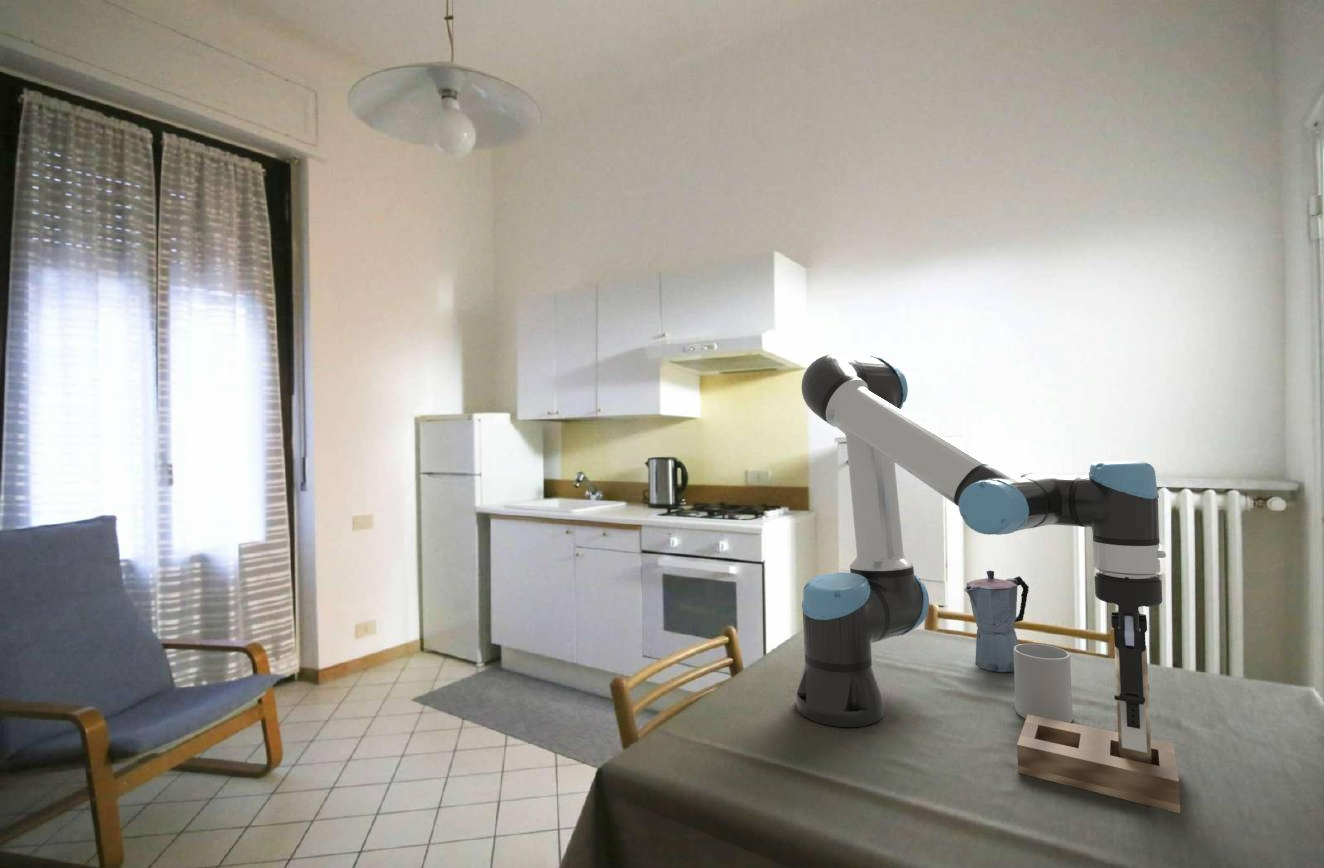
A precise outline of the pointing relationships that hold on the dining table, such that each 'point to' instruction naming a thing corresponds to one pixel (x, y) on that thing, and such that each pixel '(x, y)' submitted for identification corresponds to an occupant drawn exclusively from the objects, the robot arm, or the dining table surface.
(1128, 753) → the pin
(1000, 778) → the dining table surface
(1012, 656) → the moka pot
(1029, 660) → the mug
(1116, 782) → the bore block
